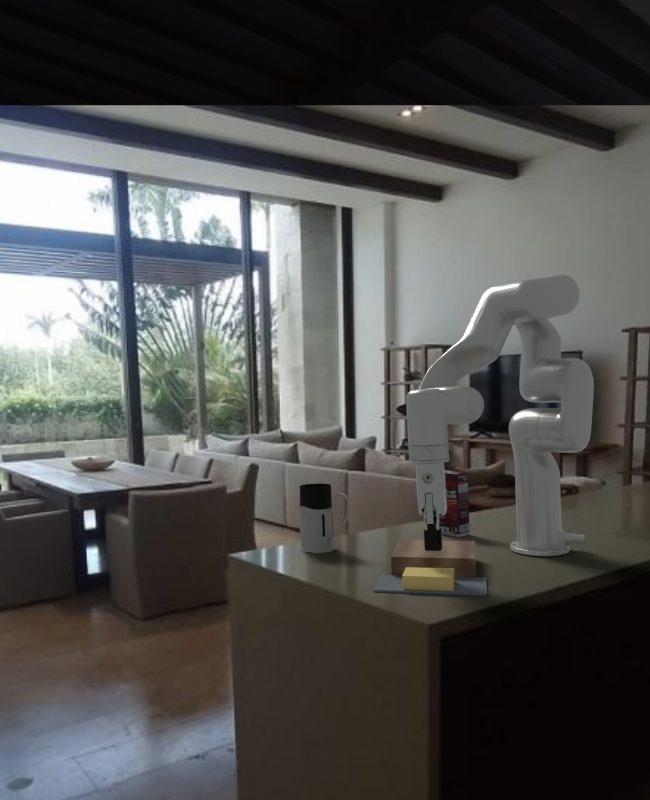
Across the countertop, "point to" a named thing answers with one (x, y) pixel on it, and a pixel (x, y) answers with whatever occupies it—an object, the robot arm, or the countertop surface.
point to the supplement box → (456, 505)
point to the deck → (435, 557)
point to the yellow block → (428, 578)
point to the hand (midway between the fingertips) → (433, 549)
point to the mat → (460, 588)
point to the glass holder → (318, 518)
